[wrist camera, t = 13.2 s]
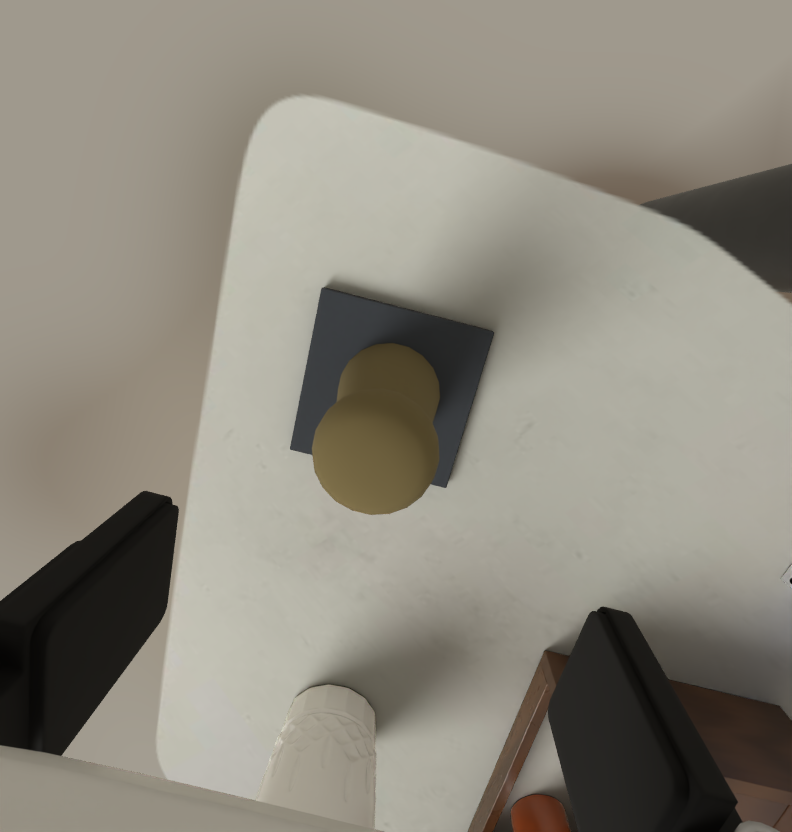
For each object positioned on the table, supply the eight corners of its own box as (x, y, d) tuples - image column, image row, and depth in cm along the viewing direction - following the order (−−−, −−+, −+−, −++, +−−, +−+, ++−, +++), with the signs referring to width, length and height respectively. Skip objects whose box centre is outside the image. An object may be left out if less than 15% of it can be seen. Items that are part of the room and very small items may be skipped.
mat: (493, 330, 28) (494, 332, 28) (445, 484, 31) (446, 488, 31) (323, 286, 28) (321, 287, 27) (291, 446, 31) (289, 449, 30)
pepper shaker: (340, 338, 28) (293, 384, 18) (445, 347, 28) (461, 398, 18) (335, 437, 30) (291, 531, 20) (434, 446, 30) (443, 545, 19)
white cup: (261, 698, 37) (207, 849, 28) (351, 662, 36) (327, 807, 26) (314, 769, 39) (281, 932, 30) (402, 737, 38) (397, 897, 28)
